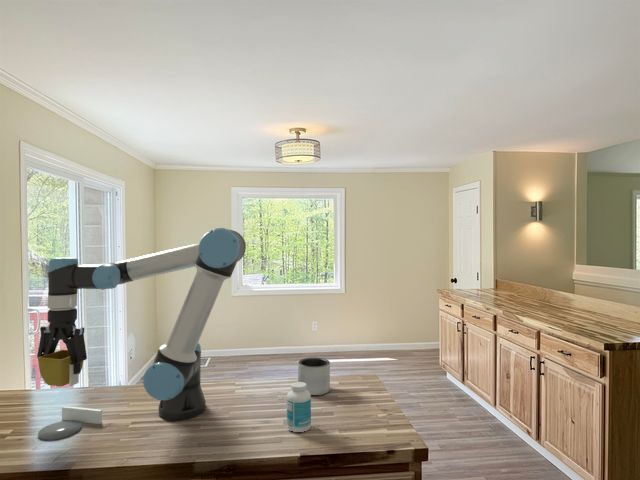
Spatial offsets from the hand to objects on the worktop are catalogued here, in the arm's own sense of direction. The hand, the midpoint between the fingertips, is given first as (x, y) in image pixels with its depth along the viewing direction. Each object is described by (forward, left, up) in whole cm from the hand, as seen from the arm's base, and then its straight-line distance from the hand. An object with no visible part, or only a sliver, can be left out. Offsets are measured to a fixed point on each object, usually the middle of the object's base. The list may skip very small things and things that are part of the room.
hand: (61, 383), depth 118 cm
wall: (-1, -7, -14) cm, 16 cm away
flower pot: (0, 0, 0) cm, 0 cm away
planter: (-68, -48, -15) cm, 84 cm away
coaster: (0, 0, -14) cm, 14 cm away
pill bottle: (-70, -17, -15) cm, 74 cm away
